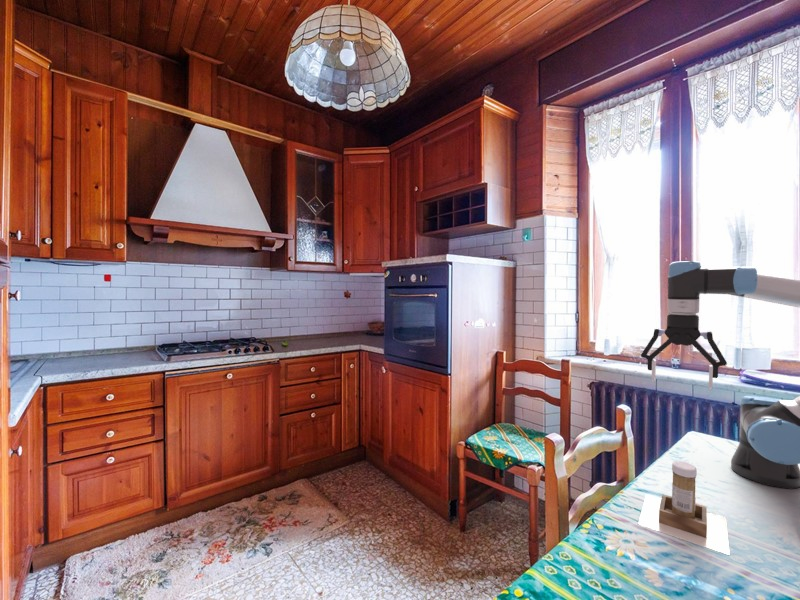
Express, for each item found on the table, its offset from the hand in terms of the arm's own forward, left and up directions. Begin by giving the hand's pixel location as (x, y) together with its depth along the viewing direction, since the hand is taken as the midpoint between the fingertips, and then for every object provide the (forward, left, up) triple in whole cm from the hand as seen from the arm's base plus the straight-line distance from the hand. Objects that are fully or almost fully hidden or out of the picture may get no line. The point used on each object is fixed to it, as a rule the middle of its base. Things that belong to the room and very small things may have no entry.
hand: (680, 384), depth 111 cm
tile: (-2, +30, -27) cm, 40 cm away
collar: (-2, +30, -26) cm, 40 cm away
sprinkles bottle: (-2, +30, -26) cm, 40 cm away
